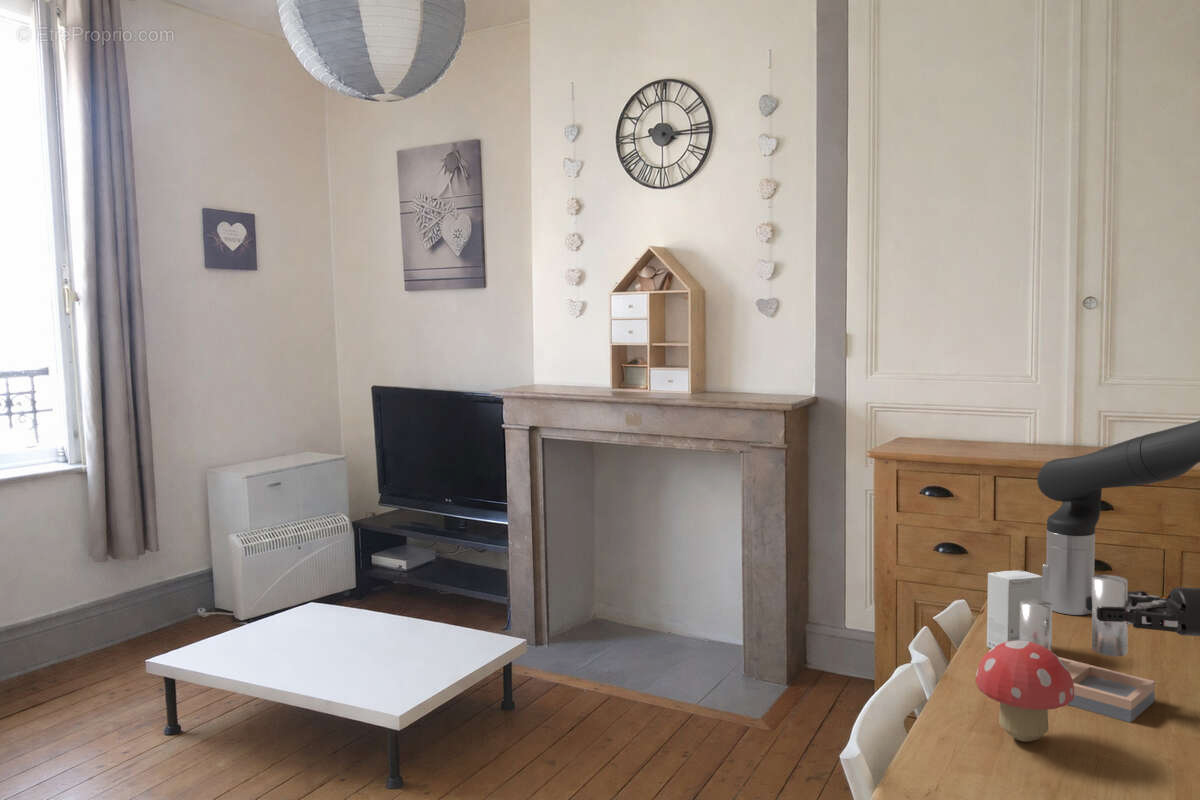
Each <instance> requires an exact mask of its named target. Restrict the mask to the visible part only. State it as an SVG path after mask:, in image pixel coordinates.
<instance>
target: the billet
mask: <svg viewBox="0 0 1200 800" xmlns="http://www.w3.org/2000/svg"><path fill="white" fill-rule="evenodd" d="M1127 592H1128V579H1127V578H1125V577H1122V576H1118V575H1112V574H1096V575H1095V574H1094V576H1092V613H1091V650H1092V652H1095V653H1097V654H1099V655H1102V656H1109V657H1123V656H1127V654H1128V624H1126V623H1124V621H1123V622H1111V621H1099V620H1098V619H1097V607H1099V606H1102V607H1122V608H1124V610H1125V607H1127Z"/></svg>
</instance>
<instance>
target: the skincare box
mask: <svg viewBox="0 0 1200 800" xmlns="http://www.w3.org/2000/svg"><path fill="white" fill-rule="evenodd" d="M1042 588H1043V577H1042V575H1039V574H1037V573H1032V572H1029V571H1025V570H1022V569H1021V570H1002V571H996V572H995V571H994V572H988V573H987V611H986V612H987V616H986V617H987V618H986V620H987V622H986V646H987V648H989V649H990V650H991V649H992V648H994V647H996V646H997V645H999V644H1002V643H1005V642H1009V641H1018V640H1019V641H1020V601H1022V600H1027V599H1033V600H1041V601H1042Z"/></svg>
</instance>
